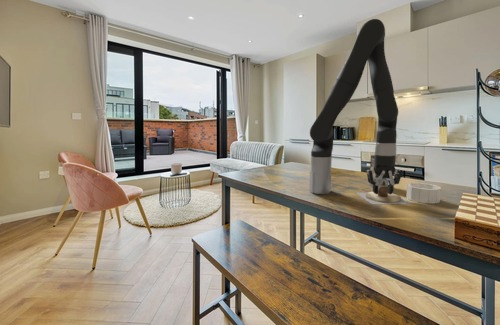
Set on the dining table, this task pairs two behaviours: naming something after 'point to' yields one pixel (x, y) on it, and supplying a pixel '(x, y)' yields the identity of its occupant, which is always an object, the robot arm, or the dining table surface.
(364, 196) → the mat
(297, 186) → the dining table surface
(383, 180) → the coffee box
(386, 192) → the lid
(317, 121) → the robot arm
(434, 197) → the bowl
